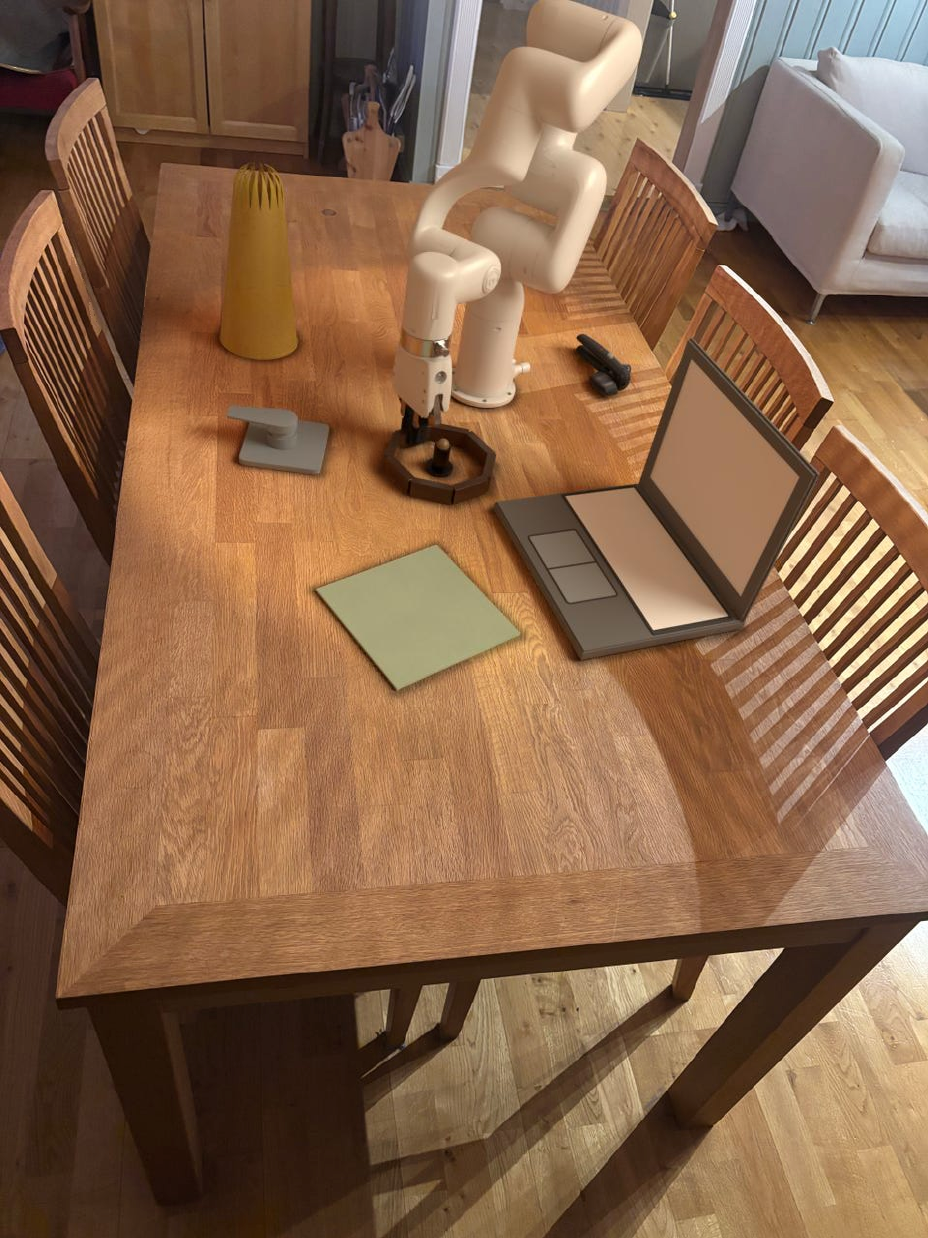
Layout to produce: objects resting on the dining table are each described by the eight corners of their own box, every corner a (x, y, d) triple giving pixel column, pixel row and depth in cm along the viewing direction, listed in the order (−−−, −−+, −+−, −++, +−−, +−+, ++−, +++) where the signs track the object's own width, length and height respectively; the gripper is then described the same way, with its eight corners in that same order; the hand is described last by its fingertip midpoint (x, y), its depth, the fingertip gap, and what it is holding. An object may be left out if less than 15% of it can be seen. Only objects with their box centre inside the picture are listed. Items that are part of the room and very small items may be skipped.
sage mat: (436, 546, 141) (436, 544, 141) (520, 635, 131) (520, 633, 131) (315, 590, 131) (315, 588, 131) (396, 690, 121) (397, 688, 121)
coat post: (442, 457, 156) (447, 428, 152) (458, 472, 154) (463, 443, 150) (419, 464, 154) (424, 435, 150) (435, 480, 152) (440, 451, 148)
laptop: (492, 510, 148) (527, 348, 129) (641, 491, 158) (695, 336, 138) (579, 662, 129) (636, 498, 109) (743, 630, 138) (824, 473, 118)
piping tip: (274, 368, 167) (275, 193, 146) (204, 343, 169) (195, 167, 148) (311, 334, 176) (317, 166, 155) (244, 311, 178) (242, 142, 157)
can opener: (634, 399, 177) (643, 372, 173) (600, 402, 175) (608, 375, 171) (593, 347, 188) (600, 321, 184) (561, 349, 186) (568, 323, 182)
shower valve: (235, 386, 152) (331, 400, 153) (236, 416, 156) (329, 428, 157) (219, 432, 143) (320, 446, 144) (220, 462, 147) (319, 475, 148)
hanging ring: (451, 427, 162) (453, 413, 160) (512, 484, 154) (515, 470, 152) (366, 452, 154) (367, 438, 152) (425, 514, 146) (427, 500, 144)
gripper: (476, 359, 142) (458, 460, 155) (417, 309, 150) (405, 409, 163) (434, 370, 139) (420, 473, 152) (376, 318, 147) (367, 420, 160)
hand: (412, 439), depth 157 cm, fingers closed on hanging ring, 1 cm apart
